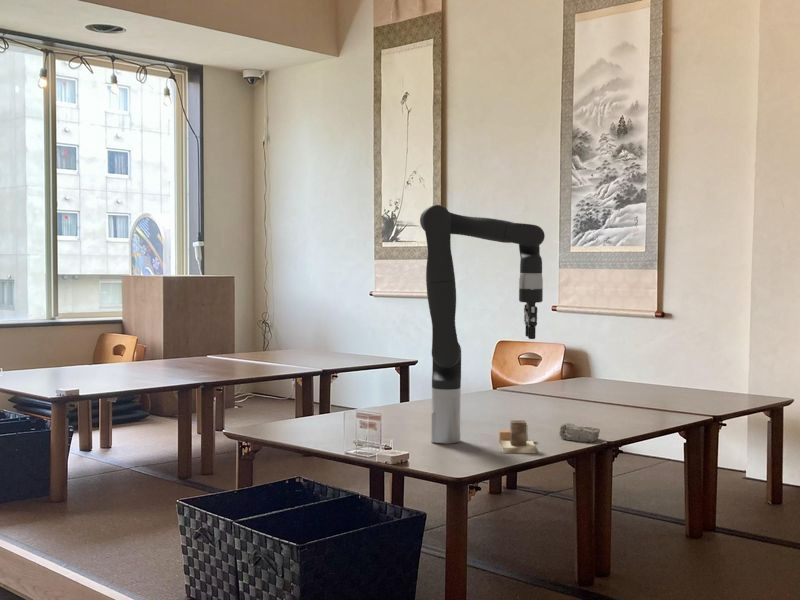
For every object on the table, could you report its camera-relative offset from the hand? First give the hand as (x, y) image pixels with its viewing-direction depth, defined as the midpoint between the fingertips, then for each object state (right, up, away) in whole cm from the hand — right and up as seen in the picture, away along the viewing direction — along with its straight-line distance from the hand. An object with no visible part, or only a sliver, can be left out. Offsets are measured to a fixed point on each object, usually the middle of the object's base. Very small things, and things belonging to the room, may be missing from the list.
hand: (530, 337), depth 295 cm
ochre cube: (-8, -33, -4) cm, 35 cm away
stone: (+16, -34, +3) cm, 37 cm away
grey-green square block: (-3, -33, +1) cm, 33 cm away
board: (-6, -34, -13) cm, 37 cm away
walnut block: (-6, -32, -13) cm, 35 cm away
